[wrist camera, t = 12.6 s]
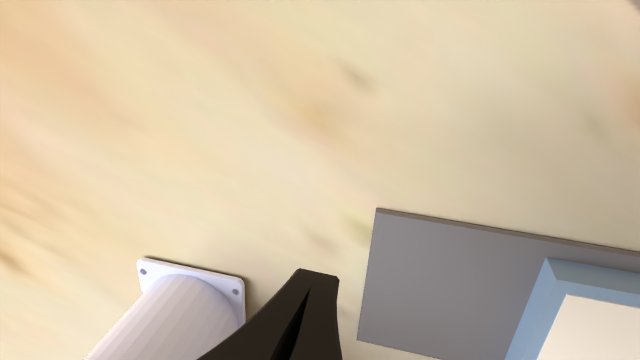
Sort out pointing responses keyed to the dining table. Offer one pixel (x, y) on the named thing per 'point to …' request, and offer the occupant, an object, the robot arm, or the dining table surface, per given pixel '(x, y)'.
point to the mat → (458, 283)
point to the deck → (580, 315)
